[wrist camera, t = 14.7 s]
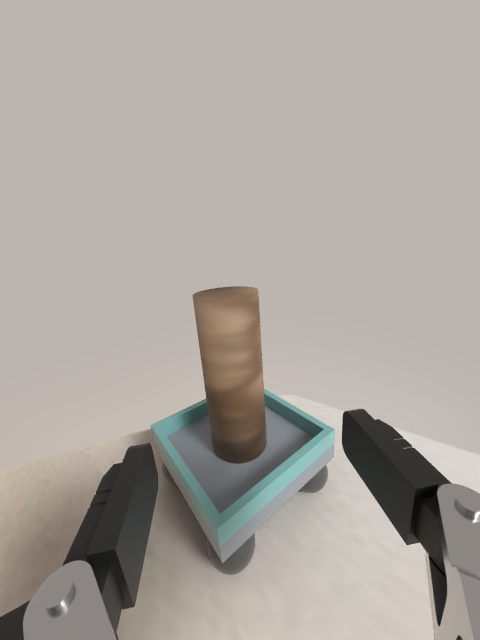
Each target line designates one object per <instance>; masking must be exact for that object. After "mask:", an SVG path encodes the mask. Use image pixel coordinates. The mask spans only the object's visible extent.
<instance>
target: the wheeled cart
mask: <svg viewBox="0 0 480 640" xmlns="http://www.w3.org/2000/svg"><path fill="white" fill-rule="evenodd" d="M264 402H265V419H266V436H267V444H266V448H265V450H264V451H263V453H262V454H261V455H260V456H259V457H258V458H256V459H254V460H252V461H250V462H247V463H242V464H234V463H228V462H226V461H224V460H222V459H220V458H219V457H218V456H217V455H216V454H215V452H214V449H213V443H212V436H211V428H210V421H209V413H208V406H207V399H205V400H203V401H201V402H198V403H196V404H194V405H192V406H190V407H188V408H186V409H184V410H182V411H180V412H178V413H176V414H173V415H172V416H170V417H167V418H165V419H163V420H161V421H159V422H157V423H155V424H153V425H151V428H152V432H153V437H154V441H155V446H156V450H157V452H158V454H159V455H160V457H161V459H162V460H163V464H162V470H163V474H164V476H165V478H166V479H167V480H168V481H169V482H170V483H172V484H175V485H177V486H178V488H179V490H180V491H181V493H182V495H183V496H184V498H185V500H186V502H187V503H188V505H189V507H190V508H191V510H192V512H193V514H194V515H195V517H196V519H197V520H198V522H199V524H200V526H201V527H202V529H203V531H204V532H205V534H206V536H207V550H208V554H209V558H210V560H211V562H212V563H213V565H214V566H215V567H216V568H217V569H218V570H219V571H220V572H222V573H225V574H236V573H239V572H240V571H242V570H243V569H244V568H245V567H246V566H247V565H248V564H249V562H250V560H251V558H252V556H253V553H254V548H255V535H254V533H255V532H256V531H257V530H258V529H259V528H260V527H261V526H262V525H263V524H264V523H265V522H266V521H267V520H268V519H269V518H270V517H272V516H273V515H274V514H275V513H276V512H277V511H278V510H279V509H280V508H281V507H282V506H283V505H284V504H285V503H286V502H287V501H288V500H289V499H290V498H291V497H292V496H293V495H295V494H296V493H297V492H298V491H299V490H302V491H304V492H308V493H314V492H317V491H319V490H321V489H322V488H323V487H324V485H325V484H326V481H327V477H328V470H327V466H326V464H327V463H328V462H329V461H330V460H331V459H332V458H333V457H334V429H333V428H331V427H329V426H328V425H326V424H324V423H322V422H321V421H319V420H317V419H316V418H314V417H312V416H310V415H309V414H307V413H305V412H303V411H302V410H300V409H298V408H296V407H295V406H293V405H291V404H290V403H288V402H286V401H284V400H283V399H281V398H279V397H277V396H276V395H274V394H272V393H270V392H269V391H267V390H265V389H264Z"/></svg>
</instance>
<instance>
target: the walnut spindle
mask: <svg viewBox="0 0 480 640" xmlns="http://www.w3.org/2000/svg"><path fill="white" fill-rule="evenodd" d="M193 301H194V309H195V317H196V324H197V331H198V339H199V346H200V353H201V361H202V368H203V376H204V383H205V391H206V398H207V406H208V413H209V421H210V428H211V436H212V443H213V449H214V452H215V454H216V455H217V456H218V457H219V458H220V459H222V460H224V461H226V462H228V463H234V464H242V463H247V462H250V461H252V460H254V459H256V458H258V457H259V456H260V455H261V454H262V453H263V451H264V450H265V448H266V444H267V436H266V419H265V402H264V385H263V369H262V368H263V367H262V351H261V332H260V315H259V297H258V289H256V288H253V287H223V288H215V289H209V290H204V291H200V292H197V293H195V294H194V295H193Z"/></svg>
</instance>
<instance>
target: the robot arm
mask: <svg viewBox="0 0 480 640" xmlns="http://www.w3.org/2000/svg"><path fill="white" fill-rule="evenodd" d="M342 445H343V449H344V452H345V454H346V456H347V458H348V459H349V461H350V462H351V464H352V465H353V467H354V468H355V470H356V471H357V473H358V474H359V475H360V477H361V478H362V480H363V481H364V483H365V484H366V486H367V487H368V489H369V490H370V492H371V493H372V495H373V496H374V497H375V499H376V500H377V502H378V503H379V505H380V506H381V508H382V509H383V511H384V512H385V514H386V515H387V517H388V518H389V520H390V521H391V522H392V524H393V525H394V527H395V528H396V530H397V531H398V533H399V534H400V536H401V537H402V539H403V540H404V542H405V543H406V545H410V544H415V543H419V542H420V543H421V545H422V546H423V547H424V549H425V550H426V555H425V558H426V567H427V576H428V585H429V593H430V602H431V611H432V619H433V628H434V640H480V494H479V493H477V492H476V491H474V490H472V489H470V488H467V487H465V486H462V485H458V484H452V483H451V482H449V481H448V480H447V479H446V478H445V477H444V476H443V475H442V474H441V473H440V472H439V471H438V470H437V469H436V468H435V467H434V466H433V465H432V464H431V463H430V462H428V461H427V460H426V459H425V458H424V457H423V456H422V455H421V454H420V453H419V452H418V451H417V450H416V449H415V448H412V445H411V444H410V443H408V442H407V441H406V440H405V439H403V437H402V436H401V435H400V434H399V433H398V432H397V431H396V430H395V429H394V428H393V427H391V426H389V425H388V424H386V423H384V422H382V421H381V420H379V419H378V420H374V419H373V418H372V417H371V416H370V415H369V414H368V413H367V412H366V411H365V410H364V409H357V410H351V411H345V412H344V413H343V425H342ZM157 491H158V473H157V469H156V464H155V460H154V456H153V451H152V447H151V445H150V444H149V443H148V444H142V445H136V446H130V447H129V448H128V449H127V452H126V454H125V457H124V459H123V462H122V463H118V464H114V465H113V466H112V467H111V468H110V469H109V471H108V472H107V473H106V474H105V475H104V476H103V478H102V480H101V482H100V484H99V487H98V489H97V491H96V495H95V496H94V498H93V500H92V502H91V504H90V508H89V509H88V511H87V513H86V515H85V518H84V520H83V522H82V524H81V526H80V529H79V531H78V533H77V535H76V537H75V540H74V542H73V544H72V546H71V548H70V551H69V553H68V555H67V557H66V559H65V561H64V563H63V565H62V567H60V568H59V569H57V570H56V571H54V572H53V573H52V574H51V575H50V576H49V577H48V578H47V579H46V580H45V581H44V582H43V583H42V584H41V585H40V587H39V588H38V589H37V591H36V592H35V593H34V595H33V597H32V598H31V600H30V601H28V602H27V603H25V604H23V605H22V606H20V607H18V608H16V609H14V610H13V611H11V612H9V613H7V614H5V615H4V616H2V617H0V640H119V638H118V635H117V632H116V631H117V627H118V622H119V618H120V614H121V610H122V609H126V608H130V607H134V606H135V601H136V596H137V591H138V586H139V581H140V576H141V571H142V566H143V561H144V556H145V551H146V546H147V541H148V536H149V531H150V526H151V521H152V516H153V511H154V506H155V501H156V496H157Z"/></svg>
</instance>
